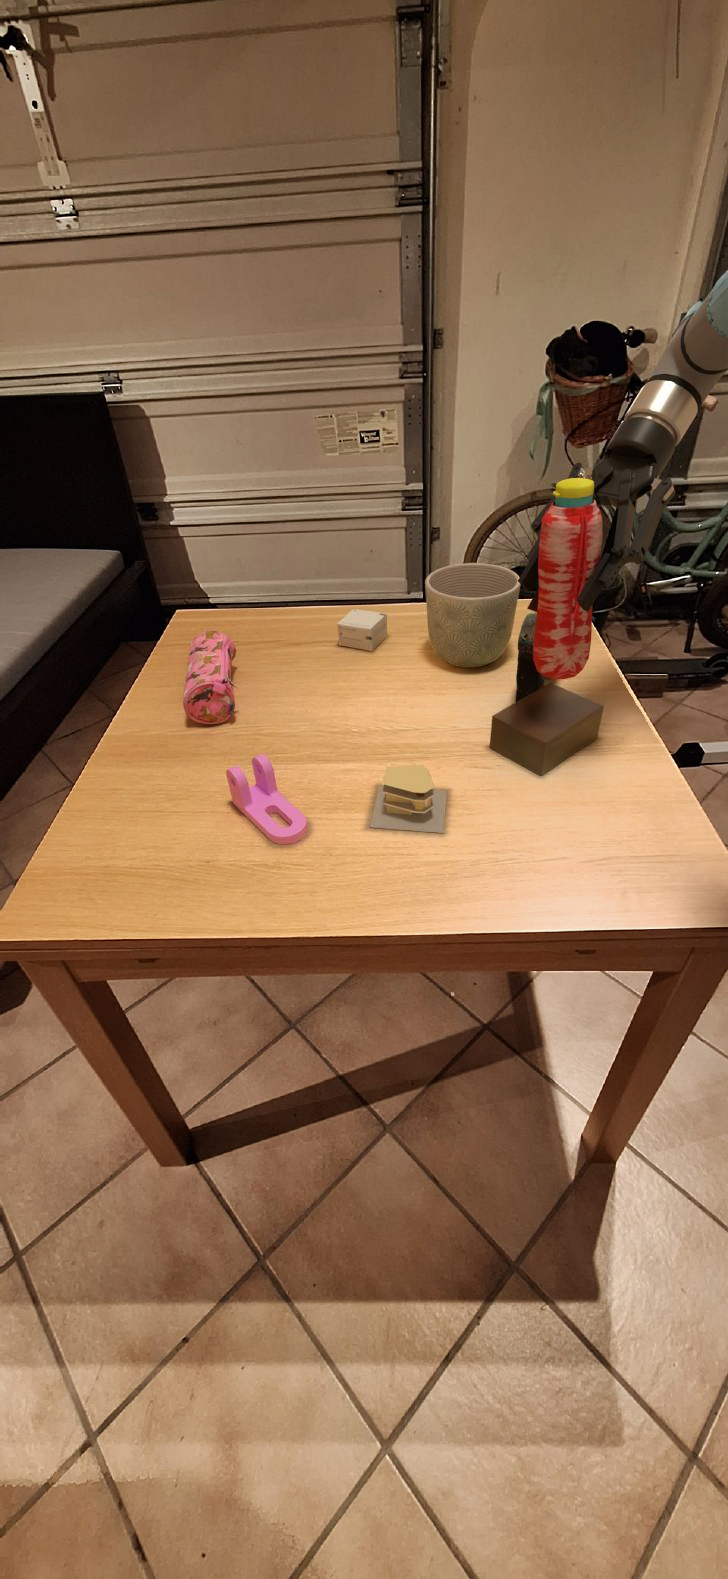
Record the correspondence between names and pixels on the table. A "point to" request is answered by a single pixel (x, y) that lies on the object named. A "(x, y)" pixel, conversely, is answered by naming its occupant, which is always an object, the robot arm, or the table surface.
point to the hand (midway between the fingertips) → (552, 595)
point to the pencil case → (209, 679)
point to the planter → (471, 612)
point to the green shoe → (527, 661)
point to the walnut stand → (545, 728)
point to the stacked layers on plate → (409, 801)
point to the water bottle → (566, 579)
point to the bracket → (265, 802)
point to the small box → (362, 629)
